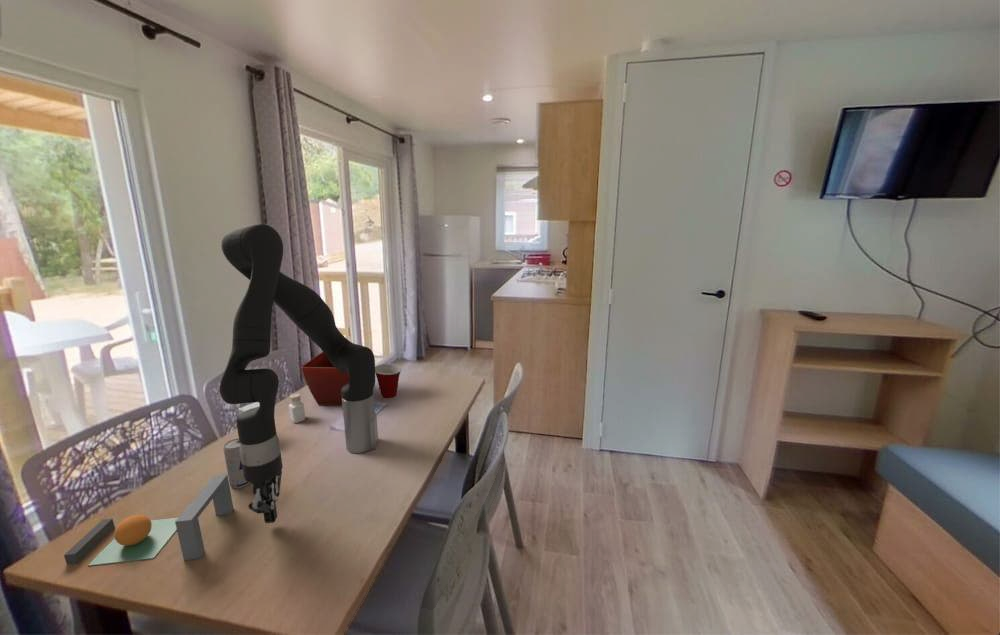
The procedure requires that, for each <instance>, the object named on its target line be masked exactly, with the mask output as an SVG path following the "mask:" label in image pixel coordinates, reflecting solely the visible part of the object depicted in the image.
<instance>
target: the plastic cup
mask: <svg viewBox="0 0 1000 635" xmlns="http://www.w3.org/2000/svg"><path fill="white" fill-rule="evenodd" d="M402 369H403V367H402V366H401V365H399V364H395V363H383V364H379V365H375V378H376V380H377V384H378V387H379V390H380V394H381V397H382V399H393V398H395V397H396V396H397V394H398V386H399V381H400V374H401V372H402Z"/></svg>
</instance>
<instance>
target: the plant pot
mask: <svg viewBox="0 0 1000 635" xmlns="http://www.w3.org/2000/svg"><path fill="white" fill-rule="evenodd" d="M300 367H301V368H300V369H301V372H302V375H303V378H304V380H305V383H306V386H307V387H308V390H309V392H310V393H311V395H312V397H313V398H314V399H313V400H315V402H316V403H317V405H318V406H342V396H341V389H342V387H343V386H345V385H346V384H348V383H349V375H348V374H345V373H342V372H340V371H339V370H337V369H336V368H335V367H334V366H333V364H332V363H331V362H330V360H329V359H328V358H327V356H326V355H325V354H324V352H323V351H322V352H320V353H319V354H317V355H315V357H313V358H311V359H310V360H309V361H307V362H306V363H304V364H302V365H301V366H300Z"/></svg>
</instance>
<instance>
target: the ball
mask: <svg viewBox="0 0 1000 635" xmlns="http://www.w3.org/2000/svg"><path fill="white" fill-rule="evenodd" d="M150 520H151V519H150V518H149V517H148V516H146V515H143V514H134V515H131V516H128V517H126V518H125V519H123V520H122V521H121V522H120V523H119V524H118V525H117V527H115V531H114V538H115V540H116V541H117V542H118V543H119V544H121V545H124V546H131V545H135V544H137V543H139V542H141V541H143V540H144V539H145V538H146V537H147V536H148V534H149V533H150V531H151V527H152V524H151V521H150Z"/></svg>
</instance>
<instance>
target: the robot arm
mask: <svg viewBox="0 0 1000 635" xmlns="http://www.w3.org/2000/svg"><path fill="white" fill-rule="evenodd" d="M220 246H221V247H220V248H221V251H222V253H223V256H224V257H225V258H226V260H227V261H228V262H229V263H230V265H232V266H233V268H235V269H236V270H237V271H238V272H239V273H240V274H241V275H243V276H244V277H245V278H247V279H248V280H249V283H248V285H247V288H246V291H245V292H244V295H243V297H242V299H241V301H240V303H239V305H238V308H237V310H236V312H235V315H234V319H233V325H232V326H233V327H232V343H231V344H232V346H231V350H230V354H229V359H228V362H227V365H226V366H225V370H224V372H223V373H222V374H223V375H222V377H221V379H220V383H219V394H220V397H221V399H222V400H223V401H224V403H226V404H229V405H241V404H253V403H255V402H259V404H260V406H259V407H256V408H252V409H249V410H247V411H244V412H243V413H241V414H240V415H239V414H238V416H237V417H236V421H235V422H236V423H235V424H236V429H237V435H238V436H237V437H238V438H239V442H240V456H241V462H242V468H243V474H244V478H245V480H246V481H248V482H250V484H252V494H253V496H254V498H253V501H250V502H249V504H248V509H249V510H250V511H252V512H254V513H256V514H257V515H258V514H263V519H264V523H265V524H271V523H272V524H273V523H275V522H276V520H277V519H278V511H277V505H276V504H277V503H278V497H280V492H281V482H282V474H283V471H282V470H283V461H282V452H281V444H280V440H279V436H278V434H277V433H278V432H277V427H276V426H277V425H276V422H275V421H276V420H275V409H276V408H275V407H276V400H277V396H278V391H279V386H280V379H279V377H278V374H277V373H276V372H275V371H274V370H273V369H270V368H252V369H246V368H247V367H248V365H249V364H250V363H251V362H253V361H256V360H260V359H264V358H266V357H267V356H269V354H270V352H271V342H272V340H271V339H272V337H271V335H272V332H271V331H272V315H273V314H272V313H273V306H274V305H277V307H278V308H280V310H281V311H282V312H283V313H284V314H285V315H286V316H287V317H288V319H290V320H291V322H292V323H293V324H294V325H296V327H297V328H298V329H300V330H301V331H302V332H303V334H305V335H306V337H308V338H309V339H310V340H311V341H312V342H313V343H315V345H317V347H318V348H319V349H320V350H321V351H322V352H324V354H325V355H326V356H327V358H328V359H329V360H330V362H331V363H332V364H333V366H334V367H335V368H336V369H337V370H339V371H340V372H342V373H345V374H348V375H349V383H348V384H346V385H345V386H343V387H342V389H341V396H342V405H341V406H342V416H343V426H344V436H345V446H346V450H347V451H348V452H350V453H354V454H362V453H367V452H369V451H371V450H376V449H377V444H378V441H379V430H378V429H379V428H378V418H377V416H378V415H377V412H375V411H376V409H375V408H376V407H375V397H374V388H375V386H376V373H375V367H376V360H375V355H374V352H373V351H372V349H371V348H369V346H368V347H367V346H365V345H360V344H356V343H353V342H352V341H350V340H349V339H348V338H347V337H345V336H344V335H343V333H342V332H340V330H339V329H338V328H337V325H336V320H335V317H334V314H333V312H332V310H331V308H330V307H329V305H328V304H327V303H326V301H324V299H323V298H322V297H321V296H320V295H319V294H318V293H317V292H316V291H315V290H314V289H312V288H311V287H309V286H307V285H305V284H303V283H301V282H299V281H298V280H296V279H293V278H291V277H289V276H288V275H286V274H284V273H283V272H281V267H282V262H283V255H284V243H283V240H282V237H281V235H280V234H279V232H278V231H277V230H276V229H275V228H274V227H273V226H271V225H268V224H263V223H262V224H260V223H259V224H254V225H249V226H247V227H244V228H240V229H239V228H238V229H236V230H235V229H234V230H233V231H229V232H227V233H225V234H224V235H223V237H222V238H221V241H220Z"/></svg>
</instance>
